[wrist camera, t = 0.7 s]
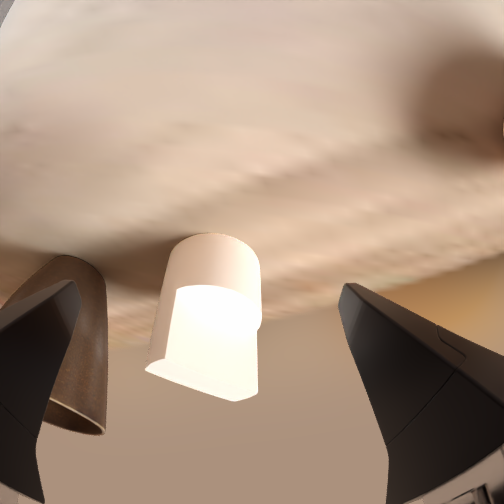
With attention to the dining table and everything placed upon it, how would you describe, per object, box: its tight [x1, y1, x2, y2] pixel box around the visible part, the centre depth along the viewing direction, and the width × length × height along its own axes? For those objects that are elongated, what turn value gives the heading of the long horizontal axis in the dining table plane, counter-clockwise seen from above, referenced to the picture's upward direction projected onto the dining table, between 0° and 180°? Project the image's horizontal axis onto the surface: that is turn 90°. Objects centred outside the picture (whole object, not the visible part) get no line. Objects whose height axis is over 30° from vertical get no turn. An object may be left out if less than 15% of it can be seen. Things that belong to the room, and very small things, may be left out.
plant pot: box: [0, 256, 108, 436], centre depth 26 cm, size 15×15×16 cm
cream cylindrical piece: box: [145, 233, 262, 401], centre depth 26 cm, size 9×9×12 cm
